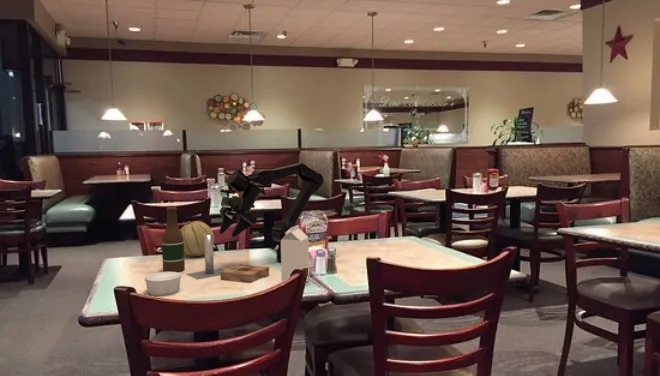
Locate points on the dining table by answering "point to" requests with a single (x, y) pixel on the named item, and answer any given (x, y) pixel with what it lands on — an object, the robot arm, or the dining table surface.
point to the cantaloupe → (195, 237)
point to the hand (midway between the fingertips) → (226, 235)
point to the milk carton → (294, 252)
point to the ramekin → (163, 283)
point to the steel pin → (209, 254)
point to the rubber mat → (202, 274)
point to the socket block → (245, 273)
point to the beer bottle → (173, 244)
